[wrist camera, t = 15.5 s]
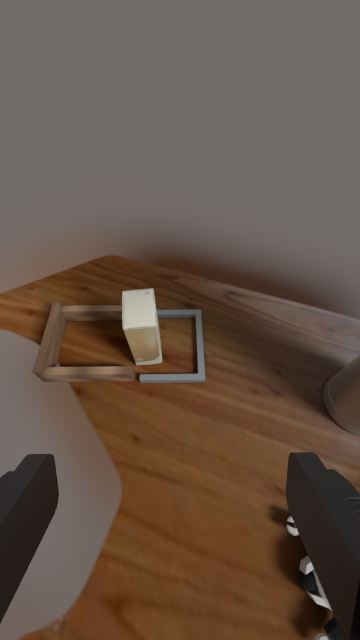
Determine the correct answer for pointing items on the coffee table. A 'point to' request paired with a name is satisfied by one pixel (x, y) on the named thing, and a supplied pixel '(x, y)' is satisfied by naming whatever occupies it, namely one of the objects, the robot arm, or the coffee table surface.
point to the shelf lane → (53, 341)
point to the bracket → (200, 352)
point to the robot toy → (315, 592)
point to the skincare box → (141, 326)
